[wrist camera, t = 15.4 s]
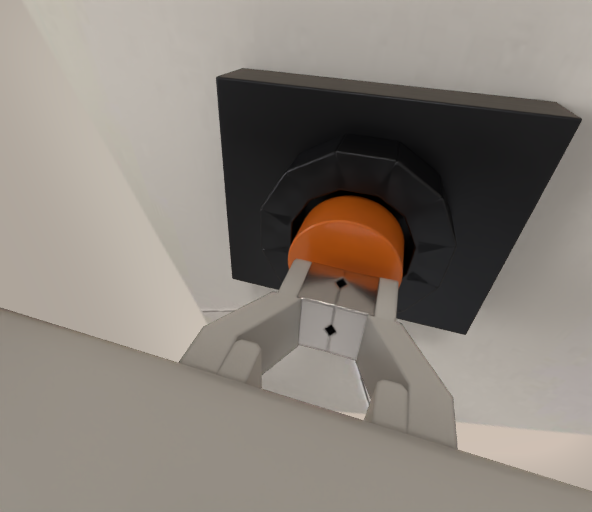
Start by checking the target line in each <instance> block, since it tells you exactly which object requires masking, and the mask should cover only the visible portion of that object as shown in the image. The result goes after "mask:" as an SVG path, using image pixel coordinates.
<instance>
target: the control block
mask: <svg viewBox="0 0 592 512" xmlns="http://www.w3.org/2000/svg"><path fill="white" fill-rule="evenodd" d="M216 84H217V96H218V108H219V120H220V132H221V145H222V157H223V169H224V181H225V194H226V206H227V218H228V230H229V242H230V255H231V267H232V278H233V279H236V280H240V281H244V282H248V283H252V284H257V285H261V286H265V287H269V288H273V289H277V290H279V289H280V287H281V285H282V283H283V281H284V279H285V277H286V275H287V273H288V271H289V267H288V253H289V249H290V246H291V244H292V242H293V240H294V238H295V236H296V235H297V233H298V231H299V229H300V227H301V225H302V224H303V222H304V220H305V218H306V216H307V215H308V214H309V212H310V211H311V210H312V209H313V208H314V207H315V206H317V205H318V204H319V203H321V202H323V201H325V200H327V199H330V198H334V197H337V196H360V197H364V198H367V199H370V200H373V201H375V202H377V203H379V204H380V205H382V206H383V207H385V208H386V209H387V210H388V211H389V212H391V213H392V215H393V216H394V217H395V218H396V219H397V221H398V223H399V224H400V226H401V229H402V231H403V235H404V259H403V276H402V281H401V284H400V287H399V289H398V299H397V312H396V318H397V319H402V320H406V321H410V322H414V323H418V324H422V325H426V326H431V327H435V328H439V329H443V330H447V331H451V332H455V333H459V334H464V335H466V333H467V331H468V330H469V328H470V326H471V324H472V322H473V320H474V319H475V317H476V315H477V313H478V311H479V309H480V307H481V306H482V304H483V302H484V300H485V298H486V296H487V295H488V293H489V291H490V289H491V287H492V285H493V283H494V282H495V280H496V278H497V276H498V274H499V272H500V271H501V269H502V267H503V265H504V263H505V261H506V259H507V258H508V256H509V254H510V252H511V250H512V248H513V247H514V245H515V243H516V241H517V239H518V237H519V236H520V234H521V232H522V230H523V228H524V226H525V224H526V223H527V221H528V219H529V217H530V215H531V213H532V212H533V210H534V208H535V206H536V204H537V202H538V200H539V199H540V197H541V195H542V193H543V191H544V189H545V188H546V186H547V184H548V182H549V180H550V178H551V176H552V175H553V173H554V171H555V169H556V167H557V165H558V164H559V162H560V160H561V158H562V156H563V154H564V153H565V151H566V149H567V147H568V145H569V143H570V141H571V140H572V138H573V136H574V134H575V132H576V130H577V129H578V127H579V125H580V123H581V121H582V119H581V118H580V117H578V116H577V115H575V114H574V113H572V112H570V111H569V110H567V109H566V108H564V107H563V106H561V105H560V104H558V103H557V102H551V101H542V100H532V99H523V98H514V97H505V96H495V95H486V94H477V93H467V92H458V91H449V90H440V89H430V88H421V87H412V86H403V85H393V84H384V83H375V82H366V81H356V80H347V79H338V78H329V77H319V76H310V75H301V74H292V73H282V72H273V71H264V70H254V69H245V68H242V69H239V70H236V71H233V72H230V73H227V74H223V75H220V76H217V77H216Z"/></svg>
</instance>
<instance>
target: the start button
mask: <svg viewBox="0 0 592 512" xmlns="http://www.w3.org/2000/svg"><path fill="white" fill-rule="evenodd" d="M296 258H298V259H302V260H306V261H310V262H312V263H313V262H315V263H319V264H323V265H327V266H331V267H335V268H339V269H343V270H347V271H351V272H356V273H361V274H365V275H370V276H374V277H379V278H380V277H382V278H387V279H392V280H397V281H398V283H399V285H398V289H399V287H400V284H401V281H402V276H403V259H404V235H403V231H402V229H401V226H400V224H399V223H398V221H397V219H396V218H395V217H394V216H393V215H392V213H391V212H389V211H388V210H387V209H386V208H385V207H383V206H382V205H380V204H379V203H377V202H375V201H373V200H370V199H367V198H364V197H360V196H337V197H334V198H330V199H327V200H325V201H323V202H321V203H319V204H318V205H317V206H315V207H314V208H313V209H312V210H311V211H310V212H309V214H308V215H307V216H306V218H305V220H304V222H303V224H302V225H301V227H300V229H299V231H298V233H297V235H296V236H295V238H294V240H293V242H292V244H291V246H290V249H289V253H288V267H289V269H290V267H291V265H292V263H293V261H294V260H295V259H296Z"/></svg>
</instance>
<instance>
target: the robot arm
mask: <svg viewBox="0 0 592 512" xmlns="http://www.w3.org/2000/svg"><path fill="white" fill-rule="evenodd" d="M398 285H399V283H398V281H397V280H392V279H387V278H382V277H380V278H379V277H374V276H370V275H365V274H361V273H356V272H351V271H347V270H343V269H339V268H335V267H331V266H327V265H323V264H319V263H315V262H313V263H312V262H310V261H306V260H302V259H298V258H296V259H295V260H294V261H293V263H292V265H291V267H290V269H289V271H288V273H287V275H286V277H285V279H284V281H283V283H282V285H281V287H280V289H279V291H278V293H277V292H271V293H269V294H267V295H265V296H263V297H261V298H259V299H257V300H255V301H253V302H251V303H249V304H247V305H245V306H243V307H241V308H239V309H237V310H235V311H233V312H231V313H229V314H227V315H225V316H223V317H221V318H219V319H217V320H216V321H214V322H212V323H210V324H208V325H206V326H204V327H203V328H202V329H201V331H200V332H199V334H198V335H197V337H196V338H195V340H194V341H193V342H192V344H191V345H190V347H189V348H188V350H187V351H186V353H185V354H184V355H183V357H182V358H181V360H180V361H179V363H177V362H174V361H171V360H168V359H164V358H161V357H158V356H155V355H151V354H148V353H145V352H142V351H139V350H135V349H132V348H129V347H126V346H122V345H119V344H116V343H113V342H109V341H106V340H103V339H100V338H96V337H93V336H90V335H87V334H84V333H81V332H77V331H74V330H71V329H68V328H65V327H61V326H58V325H55V324H52V323H48V322H45V321H42V320H39V319H36V318H32V317H29V316H26V315H22V314H19V313H16V312H13V311H10V310H7V309H3V308H0V512H592V491H589V490H586V489H583V488H579V487H577V486H573V485H570V484H567V483H564V482H561V481H557V480H554V479H551V478H548V477H544V476H541V475H538V474H535V473H531V472H528V471H525V470H522V469H519V468H516V467H512V466H509V465H505V464H503V463H499V462H496V461H493V460H490V459H487V458H483V457H480V456H477V455H473V454H470V453H467V452H464V451H461V450H458V448H457V436H456V424H455V413H454V401H453V397H452V395H451V394H450V392H449V391H448V389H447V388H446V387H445V385H444V384H443V382H442V381H441V379H440V378H439V377H438V375H437V374H436V372H435V371H434V369H433V368H432V367H431V365H430V364H429V362H428V361H427V359H426V358H425V357H424V355H423V354H422V352H421V351H420V349H419V348H418V347H417V345H416V344H415V342H414V341H413V339H412V338H411V337H410V335H409V334H408V332H407V331H406V329H405V328H404V326H403V325H402V324H401V323H398V322H396V312H397V299H398ZM298 345H302V346H306V347H310V348H314V349H318V350H322V351H326V352H329V353H333V354H336V355H339V356H343V357H346V358H349V359H352V360H356V364H357V366H358V369H359V371H360V374H361V376H362V379H363V381H364V384H365V386H366V389H367V391H368V394H369V396H370V399H371V401H370V404H369V407H368V410H367V413H366V416H365V418H364V420H360V419H357V418H354V417H351V416H348V415H344V414H341V413H338V412H335V411H332V410H328V409H325V408H322V407H319V406H316V405H312V404H309V403H306V402H303V401H300V400H296V399H293V398H290V397H287V396H283V395H280V394H277V393H274V392H271V391H267V390H264V389H262V375H263V374H264V373H265V372H266V371H268V370H269V369H270V368H271V367H273V366H274V365H275V364H276V363H278V362H279V361H280V360H281V359H283V358H284V357H285V356H286V355H288V354H289V353H290V352H291V351H293V350H294V349H295V348H296V347H298Z"/></svg>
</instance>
